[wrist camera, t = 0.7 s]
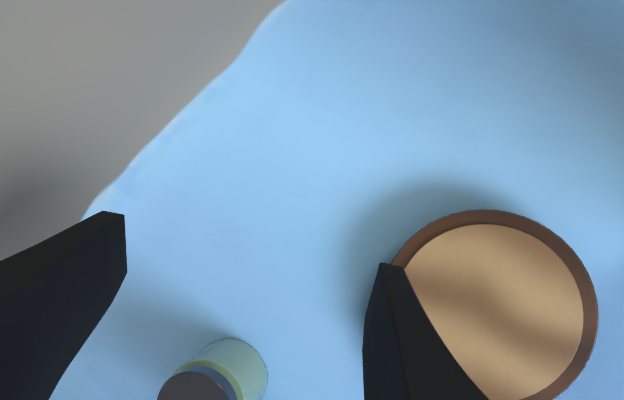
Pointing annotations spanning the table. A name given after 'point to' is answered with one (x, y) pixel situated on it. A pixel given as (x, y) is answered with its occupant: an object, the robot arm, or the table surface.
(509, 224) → the stand
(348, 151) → the table surface
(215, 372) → the jar
